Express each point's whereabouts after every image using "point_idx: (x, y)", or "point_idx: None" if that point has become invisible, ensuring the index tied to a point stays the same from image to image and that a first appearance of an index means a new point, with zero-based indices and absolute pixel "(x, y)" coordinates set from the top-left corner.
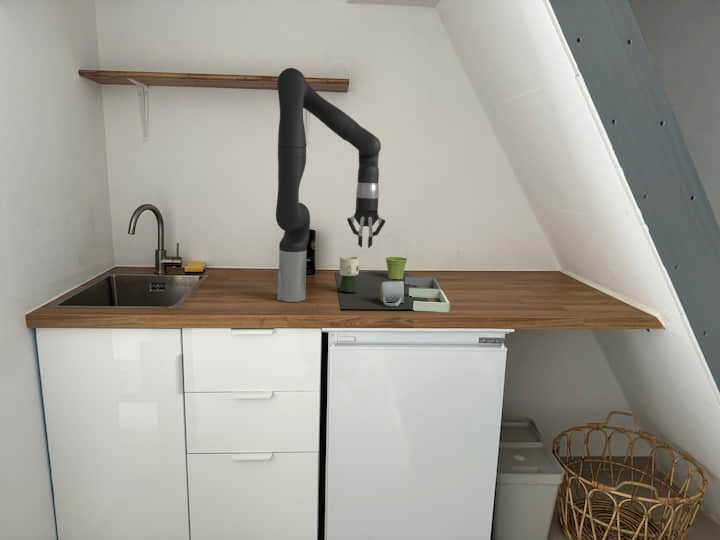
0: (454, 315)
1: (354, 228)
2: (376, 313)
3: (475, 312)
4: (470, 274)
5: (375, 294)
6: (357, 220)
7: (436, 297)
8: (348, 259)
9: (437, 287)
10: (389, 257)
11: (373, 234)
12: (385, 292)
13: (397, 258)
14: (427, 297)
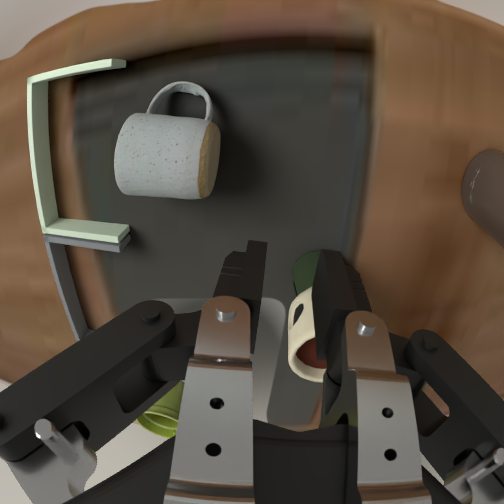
0: (39, 51)
1: (453, 384)
2: (251, 6)
3: (2, 98)
4: None
5: (230, 246)
6: (447, 494)
7: (63, 219)
8: None
9: (58, 268)
10: None
11: (191, 325)
12: (197, 120)
13: (162, 432)
14: (82, 220)
